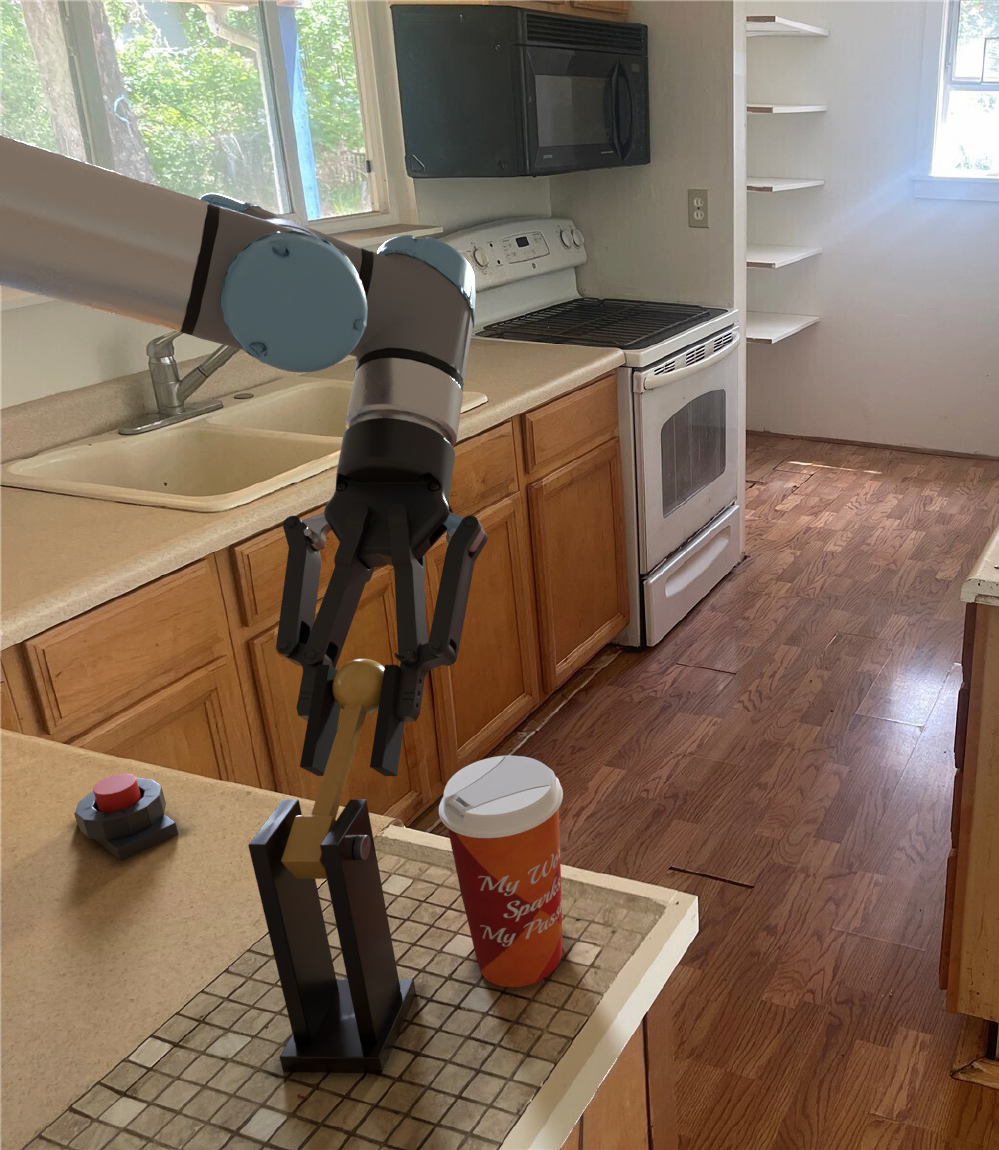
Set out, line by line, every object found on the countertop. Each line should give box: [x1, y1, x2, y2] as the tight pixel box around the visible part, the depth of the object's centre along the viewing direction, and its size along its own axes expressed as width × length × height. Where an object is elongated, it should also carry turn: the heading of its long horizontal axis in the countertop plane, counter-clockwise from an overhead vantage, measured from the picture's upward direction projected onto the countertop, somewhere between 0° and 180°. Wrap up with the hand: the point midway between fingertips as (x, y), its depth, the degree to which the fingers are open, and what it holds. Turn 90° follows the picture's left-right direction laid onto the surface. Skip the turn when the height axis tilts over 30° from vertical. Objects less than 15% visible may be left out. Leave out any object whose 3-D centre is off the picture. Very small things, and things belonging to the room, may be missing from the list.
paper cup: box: [438, 755, 564, 988], centre depth 70 cm, size 8×8×14 cm
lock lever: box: [281, 658, 385, 880], centre depth 65 cm, size 14×4×4 cm, turn 179°
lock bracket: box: [247, 798, 417, 1074], centre depth 64 cm, size 6×6×16 cm
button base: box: [73, 777, 179, 862], centre depth 86 cm, size 8×6×3 cm
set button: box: [92, 773, 141, 812], centre depth 86 cm, size 3×3×2 cm
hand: (349, 770), depth 67 cm, fingers closed on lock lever, 4 cm apart
